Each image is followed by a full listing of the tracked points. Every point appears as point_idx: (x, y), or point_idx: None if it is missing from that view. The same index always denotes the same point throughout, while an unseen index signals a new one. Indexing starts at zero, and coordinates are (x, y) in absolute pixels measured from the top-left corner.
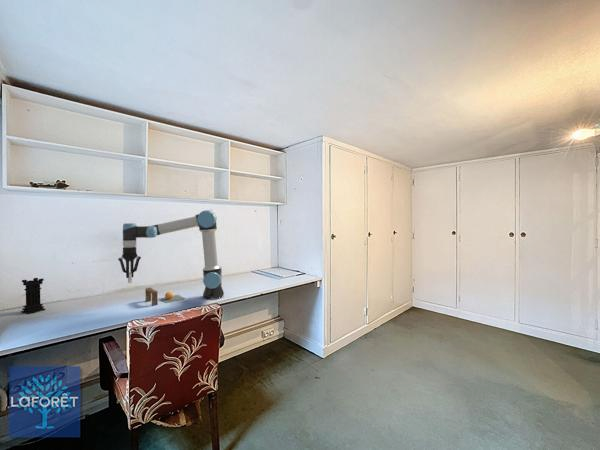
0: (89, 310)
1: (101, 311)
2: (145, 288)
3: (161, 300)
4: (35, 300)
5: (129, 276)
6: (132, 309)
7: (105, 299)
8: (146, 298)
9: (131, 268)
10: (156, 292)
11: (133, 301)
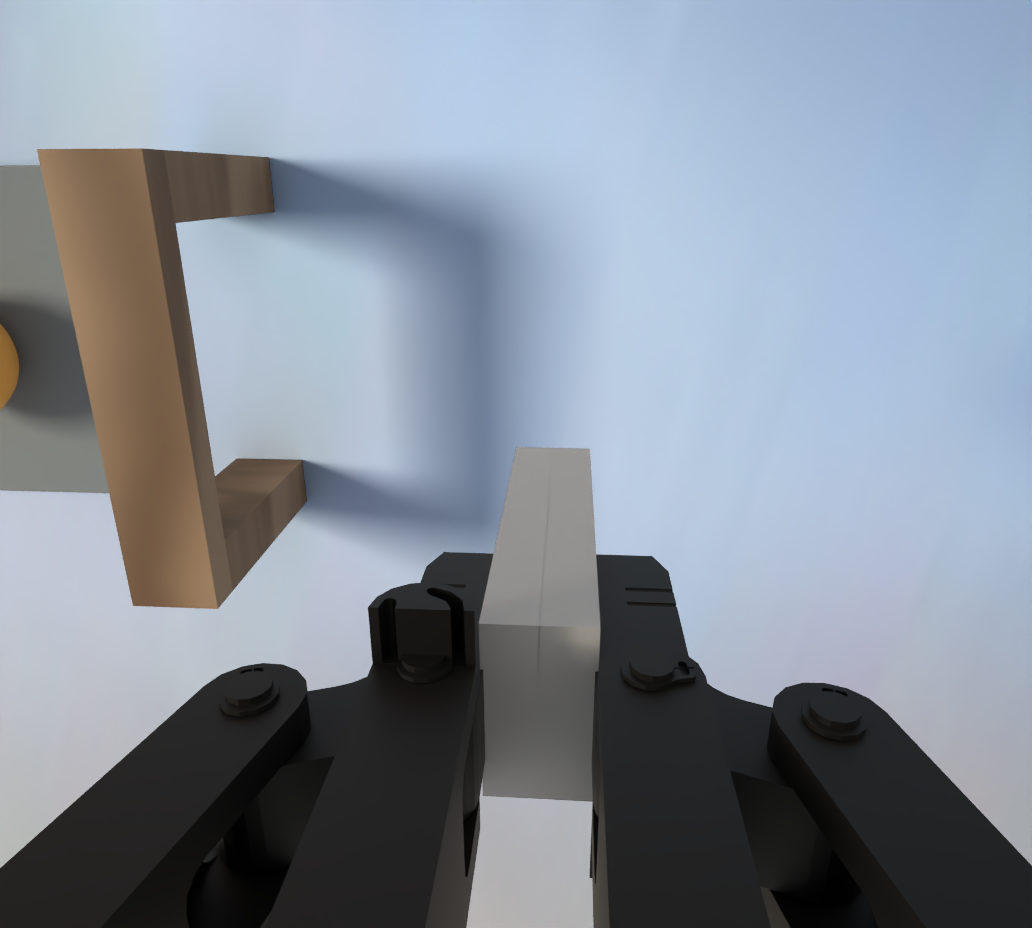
0: (995, 601)
1: (913, 440)
2: (219, 606)
3: None
4: None
5: (581, 548)
6: (566, 202)
7: None
8: (282, 479)
9: (446, 828)
10: (73, 150)
11: None
